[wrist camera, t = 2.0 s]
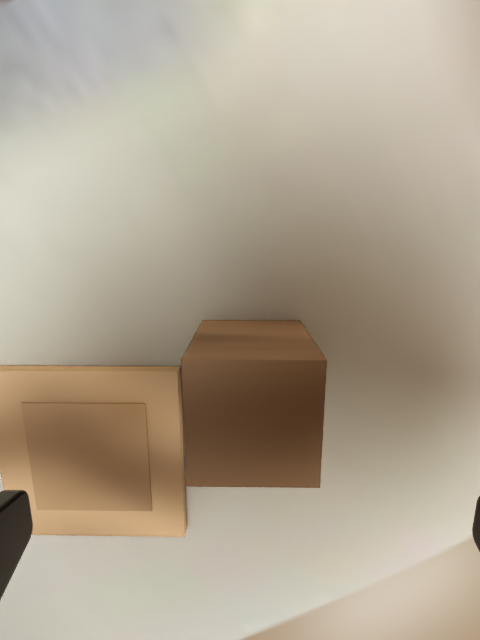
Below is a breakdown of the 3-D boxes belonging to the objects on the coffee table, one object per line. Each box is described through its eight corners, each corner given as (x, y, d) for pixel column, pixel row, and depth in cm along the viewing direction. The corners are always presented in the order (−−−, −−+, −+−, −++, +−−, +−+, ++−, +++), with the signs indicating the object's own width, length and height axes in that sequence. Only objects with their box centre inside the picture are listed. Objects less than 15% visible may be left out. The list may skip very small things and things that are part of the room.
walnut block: (296, 409, 15) (320, 487, 11) (204, 409, 16) (186, 486, 11) (299, 320, 15) (326, 360, 10) (202, 320, 15) (181, 359, 10)
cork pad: (186, 526, 17) (184, 538, 16) (19, 524, 17) (10, 535, 16) (180, 366, 15) (177, 372, 14) (-7, 365, 15) (-18, 371, 14)
